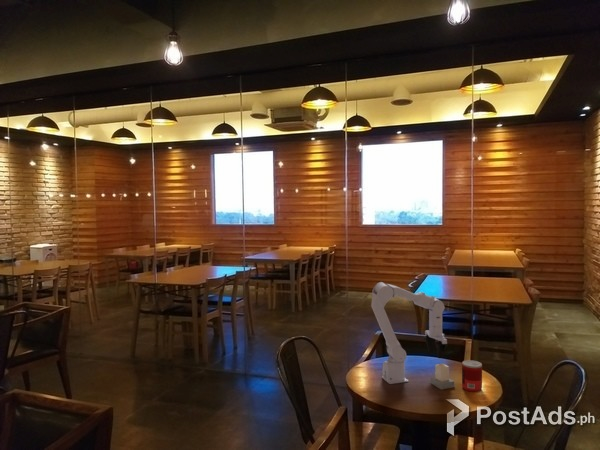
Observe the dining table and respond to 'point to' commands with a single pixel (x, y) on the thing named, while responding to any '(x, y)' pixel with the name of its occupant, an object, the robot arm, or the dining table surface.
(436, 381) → the grey square block
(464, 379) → the canned food
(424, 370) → the dining table surface
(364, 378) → the dining table surface
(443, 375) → the cream block
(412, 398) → the dining table surface
